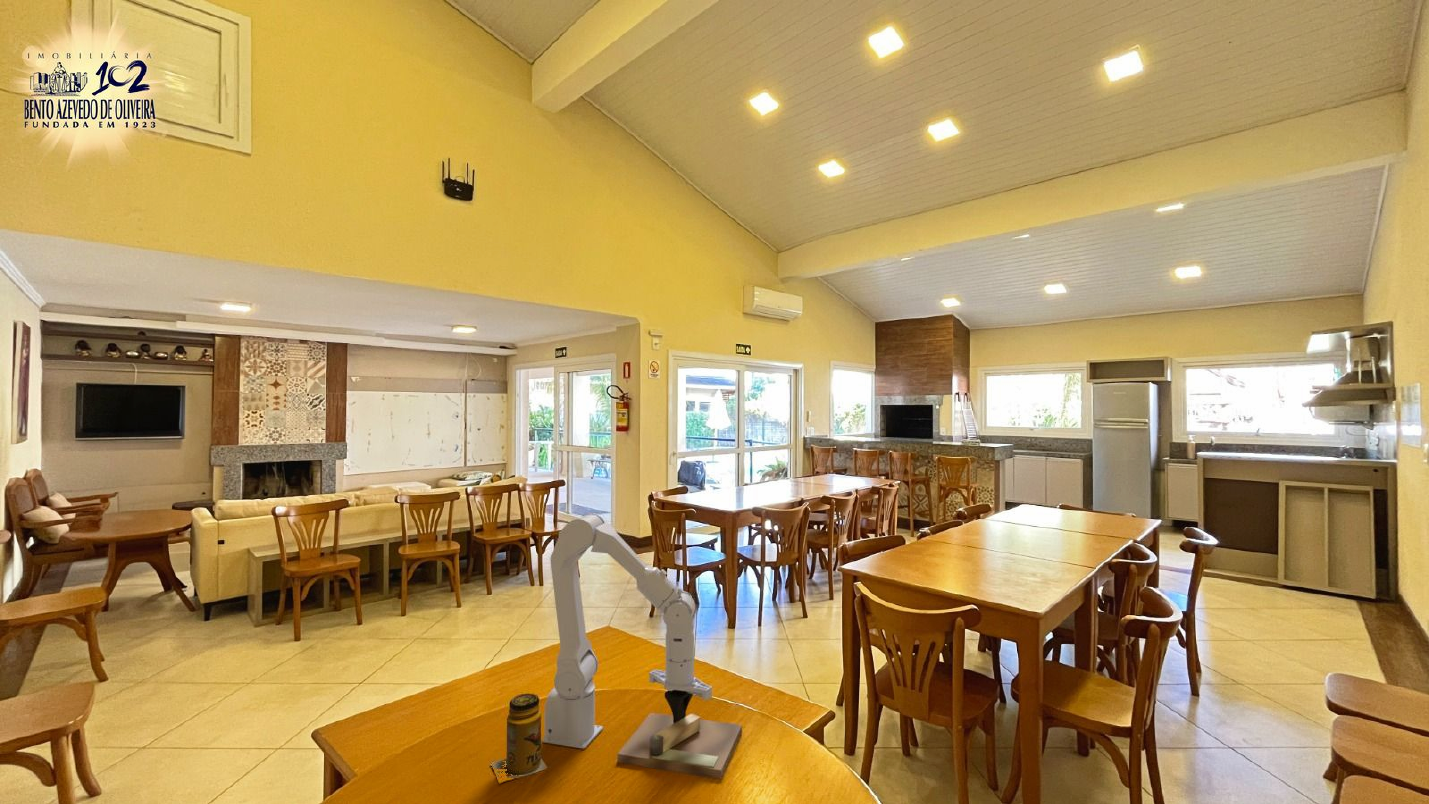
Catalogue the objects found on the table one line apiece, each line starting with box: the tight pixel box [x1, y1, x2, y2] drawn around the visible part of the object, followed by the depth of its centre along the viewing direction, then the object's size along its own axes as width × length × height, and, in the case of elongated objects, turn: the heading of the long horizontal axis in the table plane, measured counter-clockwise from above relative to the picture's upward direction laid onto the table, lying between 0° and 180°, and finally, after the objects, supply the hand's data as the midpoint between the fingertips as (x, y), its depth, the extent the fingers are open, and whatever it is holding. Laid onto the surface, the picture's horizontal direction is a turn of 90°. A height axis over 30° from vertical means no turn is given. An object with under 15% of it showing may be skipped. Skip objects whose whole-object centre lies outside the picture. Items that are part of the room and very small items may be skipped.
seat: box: [617, 712, 743, 780], centre depth 108 cm, size 20×16×2 cm
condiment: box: [489, 692, 548, 779], centre depth 102 cm, size 7×8×12 cm
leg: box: [650, 713, 701, 756], centre depth 107 cm, size 12×3×2 cm, turn 140°
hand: (679, 726), depth 110 cm, fingers closed, pressing on leg
